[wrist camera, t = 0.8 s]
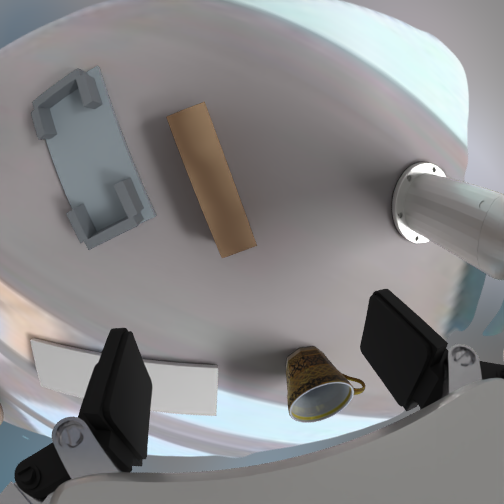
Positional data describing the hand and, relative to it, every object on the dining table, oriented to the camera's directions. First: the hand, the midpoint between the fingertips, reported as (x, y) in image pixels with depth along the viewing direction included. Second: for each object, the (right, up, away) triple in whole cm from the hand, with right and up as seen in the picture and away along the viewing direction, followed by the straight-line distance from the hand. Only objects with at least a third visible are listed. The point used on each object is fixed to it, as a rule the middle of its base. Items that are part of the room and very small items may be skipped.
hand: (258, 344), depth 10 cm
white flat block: (-23, -17, +31) cm, 42 cm away
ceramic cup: (+10, -15, +34) cm, 38 cm away
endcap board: (-20, +15, +18) cm, 31 cm away
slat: (-5, +12, +21) cm, 25 cm away
